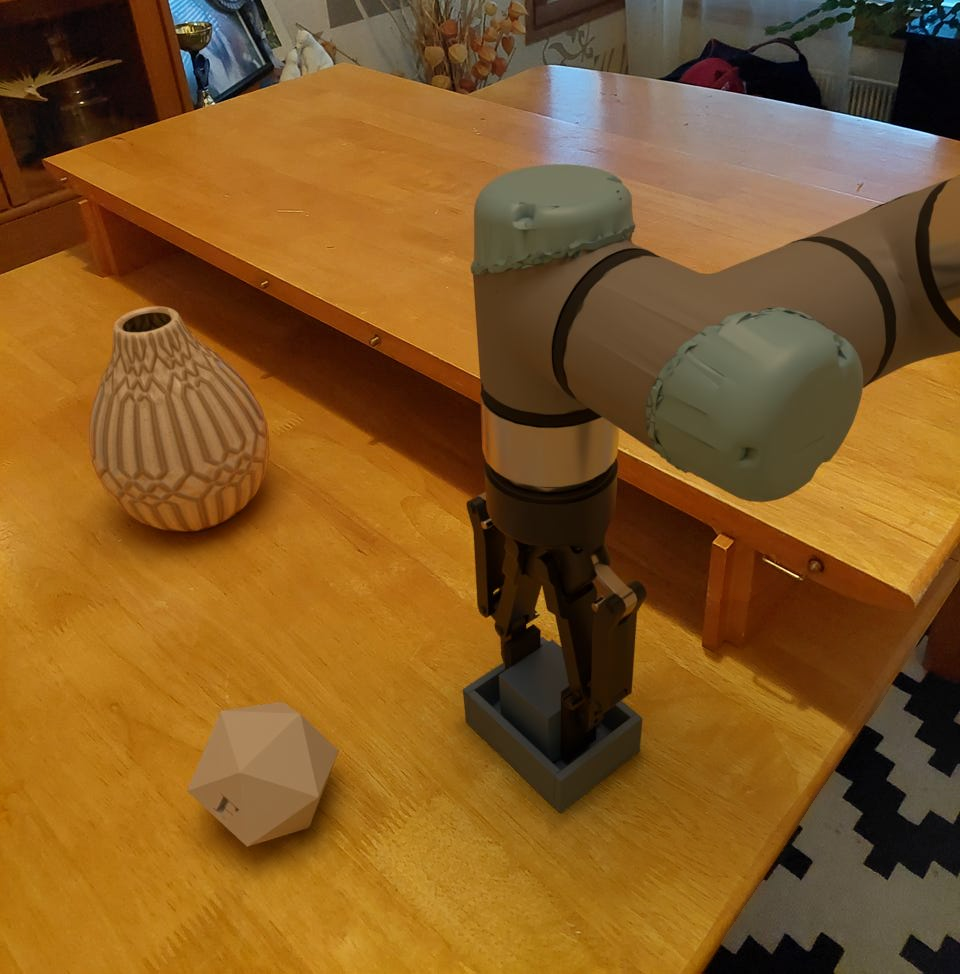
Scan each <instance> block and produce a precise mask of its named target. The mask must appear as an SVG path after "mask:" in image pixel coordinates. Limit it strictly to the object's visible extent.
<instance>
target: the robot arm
mask: <svg viewBox="0 0 960 974" xmlns="http://www.w3.org/2000/svg"><path fill="white" fill-rule="evenodd" d="M477 195H478V196H477V198H476V199H475V203H474V206H473V207H474V208H473V261H472V262H471V264H470V273H471V274H472V281H473V296H474V310H475V311H474V312H475V324H476V339H477V354H478V368H479V381H480V389H481V390H480V392H479V393H480V394H479V396H480V424H481V447H482V448H481V450H482V453H483V456H484V459H485V460H484V463H483V467H484V485H485V486H484V487H485V489H484V490H485V491H484V492H483V493H481V494H480V493H479V495H476V496H474V497H473V498H471V499H469V500H467V501H466V505H465V506H466V510H467V514H468V517H469V521H470V523H471V528H472V530H473V531H472V532H473V549H474V550H473V551H474V568H475V584H476V585H475V586H476V588H475V589H476V603H477V604H476V605H477V609H478V612H479V614H480V615H481V616H482V617H484V618H485V619H486V618H487V619H488V618H489V617H491V618H492V619H493V620H494V631H495V632H496V635H498V636H499V637H500V639H499V640H500V656H501V659H502V663H503V662H504V663H505V671H506V670H507V669H509V668H510V667H512V666H513V665H515V664H516V663H518V662H519V661H521V660H522V659H524V658H525V657H527V656H528V655H530V654H531V653H533V652H534V651H536V650H537V649H539V648H540V647H541V637H542V634H541V633H542V631H541V629H540V628H539V627H538V626H537V625H536V624H530V623H531V622H533V621H534V620H536V619H537V618H539V617H540V616H541V614H540V613H538V611H537V610H536V607H537V603H538V600H539V597H540V593H541V589H542V592H543V597H544V601H545V602H544V603H545V606H546V610H547V611H548V612H549V613H551V614H553V615H554V618H555V621H556V628H557V632H558V637H559V641H560V646H561V647H562V652H563V657H564V662H565V667H566V672H567V677H568V682H569V686H568V687H567V688H566V689H564V690H563V691H561V753H560V755H561V756H562V757H564V758H565V759H566V760H567V761H569V760H570V759H571V758H573V757H574V756H575V755H577V754H578V753H579V752H581V751H582V750H583V749H585V748H586V747H587V746H589V745H590V744H591V743H592V742H594V741H595V740H596V728H597V724H599V723H600V722H601V721H602V720H603V716H604V713H605V712H606V711H608V710H609V709H610V708H612V707H613V706H615V705H616V704H617V703H619V702H620V701H623V700H624V699H626V698H627V697H628V696H629V695H631V694H632V692H633V678H634V667H635V666H634V665H635V648H636V635H637V622H638V621H637V620H638V612H639V610H640V608H641V607H642V605H643V603H644V602H645V600H646V599H647V594H648V593H647V590H646V587H645V586H644V585H643V584H642V583H641V582H640V581H638V580H636V579H635V580H631V581H630V582H629V583H627V584H625V582H624V581H623V580H622V579H621V578H620V577H619V576H618V575H617V574H616V573H615V572H614V571H613V569H612V568H611V567H610V566H611V555H610V552H609V550H608V546H607V542H606V535H607V533H608V529H609V527H610V525H611V522H612V520H613V518H614V515H615V512H616V506H617V490H618V476H619V475H618V474H619V473H618V472H619V463H618V458H617V456H618V454H619V442H620V441H619V440H620V430H622V431H623V432H625V433H626V434H628V435H629V436H631V438H634V439H635V440H636V441H638V442H640V443H641V444H643V445H644V446H646V447H647V448H649V450H652V451H653V452H654V453H656V454H658V455H659V456H660V458H661V459H664V460H665V461H666V463H668V464H669V465H670V466H673V467H674V468H675V469H676V470H678V471H681V472H683V473H684V474H687V473H690V474H692V475H694V476H695V477H697V478H700V479H702V480H703V481H706V482H707V483H710V484H711V485H713V486H715V487H717V488H719V489H721V490H722V491H724V492H726V493H728V494H730V495H732V496H734V497H736V498H738V499H740V500H743V501H748V502H755V503H768V502H773V501H777V500H781V499H784V498H785V497H788V496H790V495H792V494H794V493H796V492H798V491H799V490H800V489H801V488H803V487H805V486H806V485H807V484H809V483H810V482H811V481H812V479H813V478H814V477H815V474H816V472H817V470H818V469H819V468H820V466H821V465H822V464H824V463H828V462H830V461H831V460H832V459H833V458H834V456H835V455H836V454H837V453H838V451H839V450H840V448H841V446H842V445H843V443H844V442H845V440H846V438H847V436H848V434H849V432H850V430H851V428H852V426H853V424H854V422H855V418H856V416H857V413H858V410H859V407H860V404H861V401H862V400H861V399H862V397H863V390H864V388H866V387H867V386H869V385H871V384H872V383H874V382H876V381H878V380H880V379H882V378H884V377H886V376H888V375H890V374H892V373H894V372H896V371H898V370H900V369H902V368H904V367H906V366H909V365H911V364H914V363H917V362H921V361H924V360H927V359H930V358H931V359H932V358H935V357H940V356H945V355H948V354H953V353H959V352H960V174H958V175H956V176H953V177H952V178H949V179H945V180H943V181H939V182H936V183H934V184H931V185H929V186H927V187H924V188H921V189H919V190H917V191H912V192H907V193H906V194H903V195H900V196H898V197H895V198H893V199H891V200H889V201H887V202H885V203H884V202H883V203H881V204H878V205H877V206H873V207H872V208H870V209H869V210H867V211H866V212H863V213H860V214H858V215H856V216H853V217H850V218H848V219H845V220H843V221H841V222H839V223H837V224H834V225H831V226H829V227H827V228H824V229H822V230H820V231H818V232H815V233H812V234H811V235H808V236H805V237H803V238H800V239H796V240H793V241H790V242H789V243H787V244H784V245H782V246H781V247H778V248H774V249H772V250H770V251H768V252H767V251H766V252H764V253H762V254H759V255H757V256H754V257H751V258H749V259H745V261H741V262H738V263H736V264H734V265H731V266H729V267H726V268H724V269H722V270H719V271H716V272H713V273H712V272H711V273H703V272H698V271H696V270H694V269H691V268H690V267H687V266H684V265H683V264H680V263H679V262H678V263H677V262H675V261H673V260H671V259H668V258H666V257H663V256H660V255H658V254H655V253H654V252H653V251H650V250H648V249H647V248H645V247H642V246H639V245H637V244H635V243H633V241H632V237H633V233H635V229H636V223H635V221H634V215H633V214H634V213H633V197H632V194H631V191H630V189H628V188H627V186H625V184H623V182H622V180H621V179H620V178H619V177H618V176H617V175H616V174H613V173H612V172H609V171H607V170H604V169H601V168H597V167H592V166H587V165H580V164H570V163H569V164H566V163H565V164H564V163H563V164H562V163H559V164H557V163H556V164H555V163H553V164H552V163H551V164H542V165H533V166H528V167H522V168H519V169H517V170H513V171H510V172H506V173H504V174H501V175H499V176H497V177H495V178H494V179H492V180H491V181H489V182H488V183H487V184H486V185H485V186H484V187H483V188H482V189H481V191H480V192H479V193H478V194H477ZM537 613H538V614H537ZM528 624H530V626H528V627H527V625H528Z"/></svg>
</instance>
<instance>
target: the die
mask: <svg viewBox="0 0 960 974" xmlns="http://www.w3.org/2000/svg"><path fill="white" fill-rule="evenodd" d="M339 751H340V750H339V749H338V748H337V747H336V746H335V745H334V744H333V743H331V742H330V741H329V740H328V739H327V738H326V737H325V735H324V734H322V733H321V731H319V730H318V729H317V728H316V727H315V725H313V724H312V723H311V722H310V721H308V719H307V718H306V717H304V715H302V714H301V713H300V712H298V711H297V710H295V709H294V708H292V707H291V706H289V705H288V704H286V703H285V702H283V701H277V702H269V703H264V704H256V705H250V706H244V707H237V708H230V709H229V708H228V709H223V710H220V711H219V714H218V716H217V718H216V721H215V723H214V725H213V728H212V730H211V733H210V735H209V737H208V740H207V742H206V744H205V747H204V749H203V752H202V754H201V757H200V759H199V761H198V763H197V766H196V769H195V770H194V773H193V775H192V778H191V781H190V783H189V785H188V787H187V790H186V792H187V793H188V794H189V795H191V796H192V798H194V799H195V800H196V801H197V802H198V803H199V804H200V805H201V806H202V807H203V808H204V809H205V810H206V811H208V812H209V813H210V814H211V815H212V816H213V817H214V818H215V819H216V820H218V821H219V822H220V824H222V826H224V827H225V828H226V829H227V830H228V831H229V832H230V833H231V834H233V835H234V836H235V837H236V838H237V839H238V840H239V841H240V842H241V843H242V844H243V845H244V846H246V847H250V846H255V845H257V844H261V843H264V842H266V841H271V840H273V839H277V838H280V837H284V836H287V835H290V834H293V833H296V832H300V831H303V830H306V829H310V826H311V824H312V821H313V818H314V816H315V814H316V811H317V809H318V806H319V803H320V800H321V798H322V797H323V793H324V790H325V788H326V785H327V783H328V781H329V778H330V775H331V772H332V769H333V767H334V764H335V763H336V760H337V757H338V755H339V753H340V752H339Z"/></svg>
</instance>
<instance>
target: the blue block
mask: <svg viewBox="0 0 960 974" xmlns="http://www.w3.org/2000/svg"><path fill="white" fill-rule="evenodd" d="M548 641H549V642H548V643H546V644H545V645H543V646H542V647H540V648H539V649H537V650H536V651H534V652H533V653H531V654H530V655H528V656H527V657H525V658H524V659H522V660H521V661H519V662H518V663H516V664H515V665H513V666H512V667H510V668H509V669H507V670H506V671H504V672H503V673H501V674H500V675H499V689H500V709H501V715H502V716H503V717H504V718H505V719H506V720H507V721H508V722H509V723H510V724H511V725H512V726H513V727H514V728H515V729H517V730H518V731H519V732H520V733H521V734H522V735H523V736H524V737H525V738H526V739H527V740H528V741H529V742H531V743H532V744H533V745H534V746H535V747H536V748H537V749H538V750H539V751H540V752H541V753H542V754H543V755H544V756H546V757H547V758H548V759H549V760H550V761H551V762H554V761H555V760H556V759H558V758H559V757H560V756H561V755H560V753H561V691H563V690H564V689H566V688H567V687H568V686H569V682H568V677H567V672H566V667H565V662H564V657H563V652H562V647H561V644H559V643H558V642H556V641H555V640H554V639H551V640H548ZM599 727H600V723H599V724H597V728H596V729H598V728H599Z"/></svg>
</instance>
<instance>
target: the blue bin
mask: <svg viewBox="0 0 960 974" xmlns="http://www.w3.org/2000/svg"><path fill="white" fill-rule="evenodd" d="M549 641H550V640H547V639H546V638H545V637H544V636H541V647H542V646H543V645H545V644H546V643H548V642H549ZM504 671H505V663H504V662H503V661H502V663H500V664H498V665H497V666H495V667H494V668H492V669H490V671H488V672H486V673H485V674H483V675H482V676H480V677H479V678H477V679H476V680H474V681H473V682H472V683H470V684H468V685H467V686H465V687H463V688H462V696H463V710H464V719H465V722H466V724H468V725H469V727H470V728H472V729H473V730H474V731H475V732H476V734H478V735H479V736H480V737H481V738H482V739H483V740H484V741H485V742H486V743H487V744H488V745H489V746H490V747H491V748H492V749H493V750H494V751H495V752H496V753H497V754H499V756H500V757H502V758H503V760H505V761H506V762H507V763H508V765H510V766H511V767H512V768H513V769H514V770H515V771H516V772H517V773H518V774H519V775H520V776H521V777H522V778H523V779H524V780H525V781H526V782H527V783H528V784H529V785H530V786H531V787H532V788H533V789H534V790H535V791H536V792H537V793H538V794H539V795H540V796H541V797H542V798H543V799H544V800H545V801H547V802H548V803H549V804H550V806H552V807H553V808H554V809H555V810H556V812H558V813H559V814H562V813H563V812H564V811H566V810H567V809H568V808H570V807H571V806H572V805H573V804H574V803H576V802H577V801H578V800H580V799H581V798H582V797H584V795H586V794H587V793H589V792H590V791H591V790H592V789H594V788H595V787H596V786H597V785H599V784H600V783H601V782H603V780H605V779H606V778H607V777H609V776H610V775H611V774H612V773H614V772H615V771H617V770H618V769H619V768H620V767H621V766H623V765H624V764H625V763H626V762H627V761H630V759H631V758H633V757H634V756H635V755H637V754H638V753H639V752H640V751H641V743H642V742H641V741H642V730H643V720H644V719H643V717H642V716H641V715H640V714H639V713H637V712H636V711H635V710H634V709H632V708H631V707H630V706H629V705H627V704H626V703H625V702H624V701H623V700H621V701H620V702H619V703H617V704H616V705H615V706H613V707H612V708H610V709H609V710H608V711H606V712H605V713H604V716H603V720H602V721H601V722H600V727H599V728H598V729H596V740H595V741H594V742H592V743H591V744H590V745H589V746H587V747H586V748H585V749H583V750H582V751H581V752H579V753H578V754H577V755H575V756H574V757H573V758H571V759H570V760H569V761H567V760H566V759H565V758H564V757H562V756H560V757H559V758H558V759H556V760H555V761H554V762H551V761H550V760H549V759H548V758H547V757H546V756H544V755H543V754H542V753H541V752H540V751H539V750H538V749H537V748H536V747H535V746H534V745H533V744H532V743H531V742H529V741H528V740H527V739H526V738H525V737H524V736H523V735H522V734H521V733H520V732H519V731H518V730H517V729H515V728H514V727H513V726H512V725H511V724H510V723H509V722H508V721H507V720H506V719H505V718H504V717H503V716H502V715H501V709H500V689H499V675H500V674H501V673H503V672H504Z"/></svg>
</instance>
